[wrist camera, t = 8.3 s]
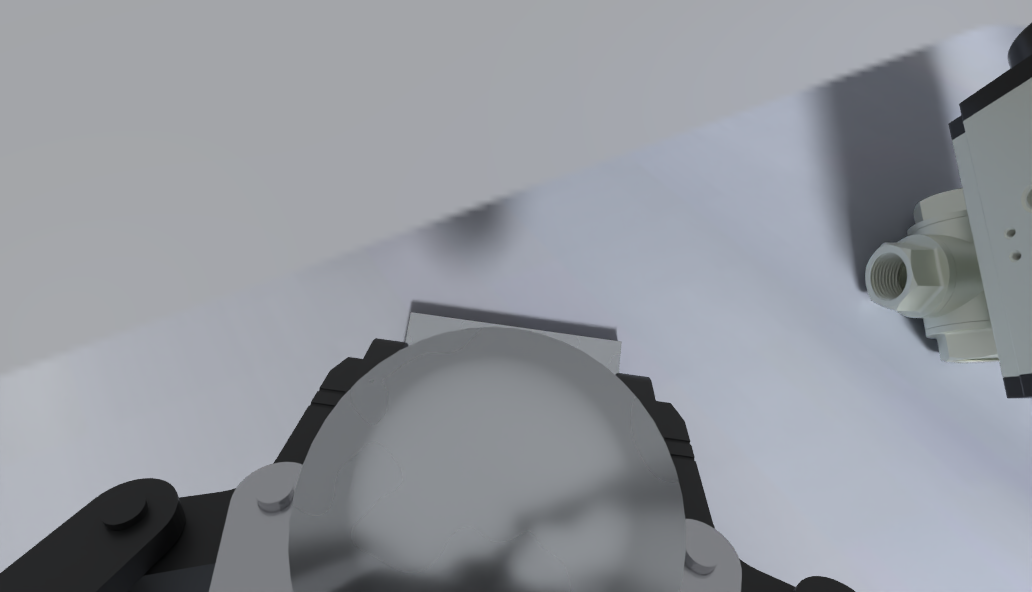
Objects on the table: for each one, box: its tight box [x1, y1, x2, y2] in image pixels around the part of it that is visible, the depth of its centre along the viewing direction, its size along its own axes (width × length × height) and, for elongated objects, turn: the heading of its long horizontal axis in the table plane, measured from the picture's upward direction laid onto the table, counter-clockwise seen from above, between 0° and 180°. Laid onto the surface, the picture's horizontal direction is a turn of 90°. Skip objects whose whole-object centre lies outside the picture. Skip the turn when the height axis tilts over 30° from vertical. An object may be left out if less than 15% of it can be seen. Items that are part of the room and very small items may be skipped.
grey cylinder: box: [288, 327, 686, 592], centre depth 11 cm, size 5×5×10 cm
